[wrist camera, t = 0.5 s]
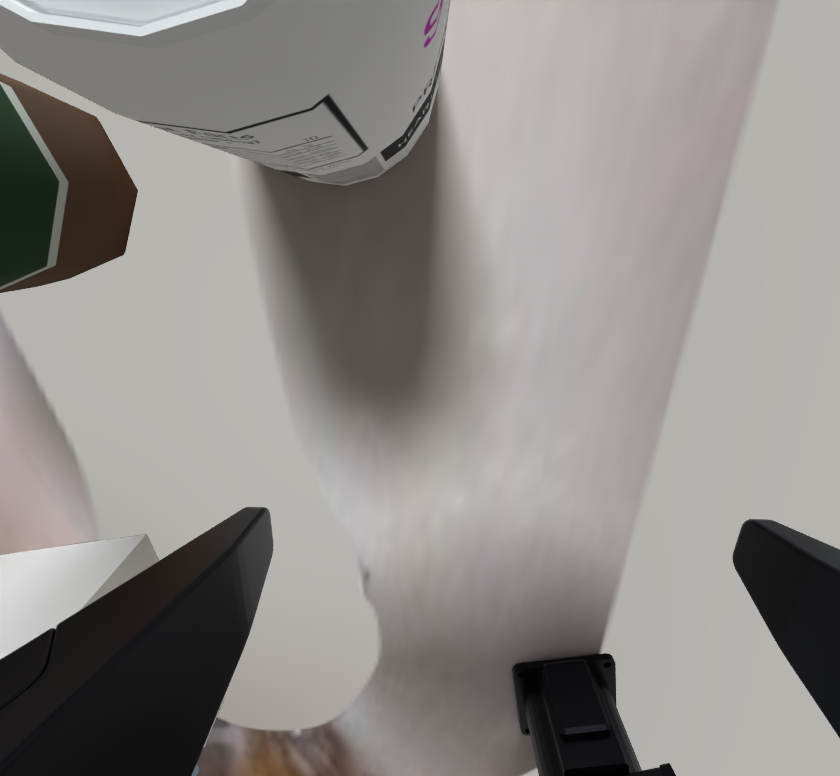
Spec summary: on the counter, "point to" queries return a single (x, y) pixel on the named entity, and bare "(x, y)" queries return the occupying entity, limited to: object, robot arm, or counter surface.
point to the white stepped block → (63, 584)
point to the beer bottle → (57, 190)
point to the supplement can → (250, 72)
